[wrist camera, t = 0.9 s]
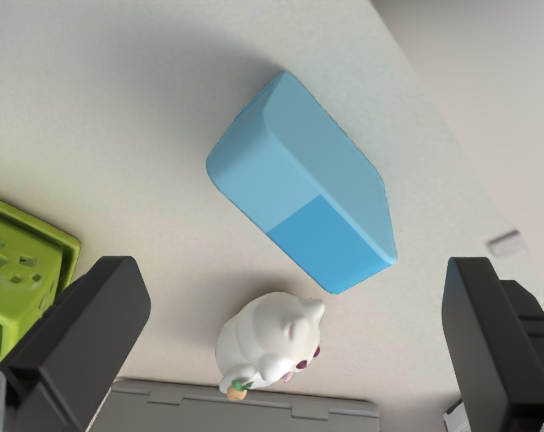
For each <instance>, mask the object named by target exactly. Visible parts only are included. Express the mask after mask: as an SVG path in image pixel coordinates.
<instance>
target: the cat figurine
mask: <svg viewBox="0 0 544 432" xmlns="http://www.w3.org/2000/svg"><path fill="white" fill-rule="evenodd" d="M324 311H325V303H324V301H323V300H321V299H300V298H298V297H296V296H295V295H293V294H290V293H287V292H272V293H268V294H265V295H263V296H261V297H258V298H256V299H255V300H253V301H251V302H250V303H248V304H247V305H246V306H245V307H244V308H243V309H242V310H241V311H240V312H239V313H238V314H236V315H235V316H233V317H232V318H231V319H230V320H229V321H228V322H227V323H226V324H225V325H224V327H223V328H222V330H221V332H220V334H219V337H218V339H217V343H216V350H215V355H216V362H217V365H218V368H219V370H220V372H221V373H222V375H223V376H224V378H223V379H222V380H221V382H220V384H219V390H220V391H221V392H222V393H225V394H227V397H228V399H230V400H233V401H236V400H241V399H243V398H244V397H245V396H246V393H247V390H249V389H256V388H262V387H266V386H268V385H271V384H273V383H274V382H276V381H277V380H279V379H281V378H283V382H284V383H287V382H288V381H290V379H291V378H292V377H293V375H294V374H295V373H298V372H299V371H301V370H303V369H304V368H305V367H306V366H307V365H308V364H309V363H310V362H311V360H312V359H313V357H316V356H317V355H318V354H319V352H320V348H319V342H320V337H321V331H320V328H319V322H320V320H321V317H322V315H323V313H324Z"/></svg>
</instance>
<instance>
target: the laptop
mask: <svg viewBox="0 0 544 432" xmlns="http://www.w3.org/2000/svg"><path fill="white" fill-rule="evenodd" d="M88 432H380V420H379V408H378V407H377V406H376V405H374V404H372V403H369V402H367V401H357V400H346V399H335V398H324V397H313V396H302V395H291V394H280V393H269V392H258V391H247V393H246V396H245V397H244V398H243V399H241V400H236V401H233V400H230V399H228V397H227V394H225V393H222V392H221V391H220V390H219V388H215V387H204V386H193V385H182V384H171V383H160V382H149V381H138V380H123V381H117V382H115V383H113V384H112V386H111V392H110V393H109V395H108V397H107V399H106V401H105V402H104V404H103V406H102V408H101V410H100V411H99V413H98V415H97V417H96V419H95V421H94V422H93V424H92V426H91V428H90V430H89V431H88Z"/></svg>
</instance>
